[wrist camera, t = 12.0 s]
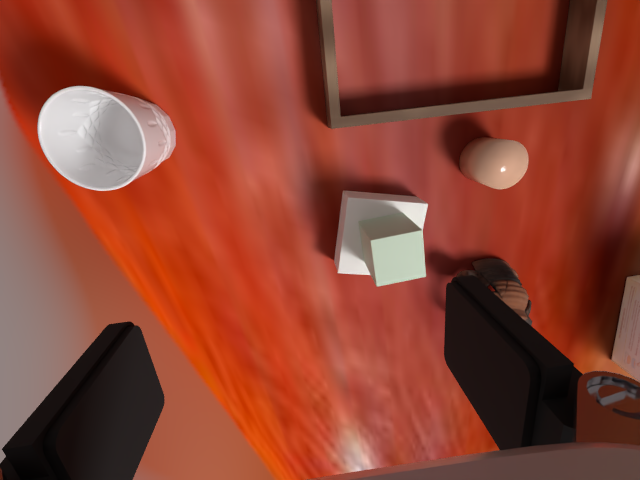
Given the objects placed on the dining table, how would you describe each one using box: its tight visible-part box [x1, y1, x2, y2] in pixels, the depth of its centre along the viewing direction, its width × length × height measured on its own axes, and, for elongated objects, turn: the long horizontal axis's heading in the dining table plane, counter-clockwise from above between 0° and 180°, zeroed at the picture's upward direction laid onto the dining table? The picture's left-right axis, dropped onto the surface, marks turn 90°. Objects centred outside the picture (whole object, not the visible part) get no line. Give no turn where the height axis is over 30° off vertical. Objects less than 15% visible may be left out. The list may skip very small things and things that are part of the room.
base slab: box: [334, 190, 428, 275], centre depth 40 cm, size 9×9×4 cm
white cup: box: [38, 86, 176, 191], centre depth 31 cm, size 8×8×10 cm
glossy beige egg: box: [459, 137, 528, 189], centre depth 38 cm, size 5×5×5 cm
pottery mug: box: [456, 258, 532, 326], centre depth 44 cm, size 12×10×8 cm
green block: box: [358, 212, 426, 286], centre depth 36 cm, size 5×5×6 cm
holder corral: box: [316, 0, 607, 129], centre depth 33 cm, size 17×27×4 cm, turn 96°
